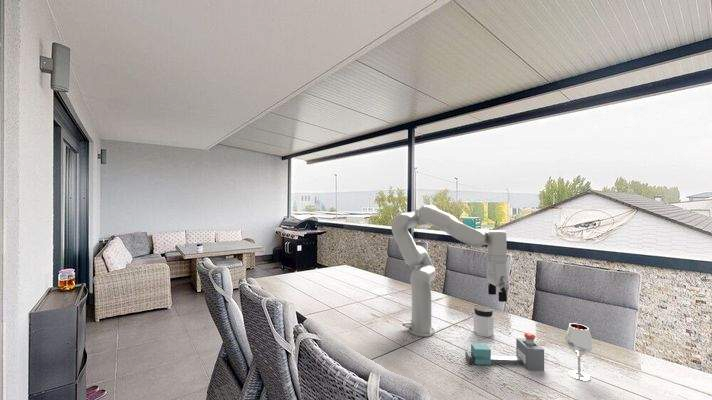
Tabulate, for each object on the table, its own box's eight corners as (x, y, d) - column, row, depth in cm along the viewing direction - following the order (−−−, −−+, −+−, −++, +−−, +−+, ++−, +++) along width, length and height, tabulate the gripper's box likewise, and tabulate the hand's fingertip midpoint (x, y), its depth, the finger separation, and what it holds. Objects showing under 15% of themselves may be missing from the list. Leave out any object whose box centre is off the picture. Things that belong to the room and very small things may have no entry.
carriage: (475, 364, 114) (475, 349, 114) (470, 357, 119) (470, 343, 119) (490, 364, 114) (490, 349, 114) (485, 357, 119) (485, 343, 119)
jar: (485, 338, 137) (485, 313, 137) (470, 332, 144) (470, 307, 144) (496, 334, 142) (496, 309, 142) (481, 328, 149) (481, 304, 149)
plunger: (527, 349, 114) (527, 336, 114) (522, 345, 117) (522, 332, 118) (536, 349, 114) (536, 336, 114) (531, 345, 117) (531, 332, 117)
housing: (527, 370, 111) (527, 348, 111) (515, 357, 120) (515, 338, 120) (544, 370, 111) (544, 349, 111) (531, 358, 120) (531, 338, 120)
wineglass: (560, 369, 111) (559, 322, 112) (580, 369, 112) (579, 321, 112) (578, 383, 103) (577, 331, 103) (599, 381, 104) (599, 331, 104)
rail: (469, 365, 114) (469, 356, 114) (465, 358, 119) (465, 350, 119) (525, 367, 113) (525, 358, 113) (518, 360, 118) (518, 352, 118)
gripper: (480, 255, 137) (480, 291, 136) (497, 262, 119) (497, 304, 119) (496, 255, 136) (496, 291, 136) (516, 262, 119) (516, 304, 119)
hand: (497, 297), depth 128 cm, fingers open, 9 cm apart
